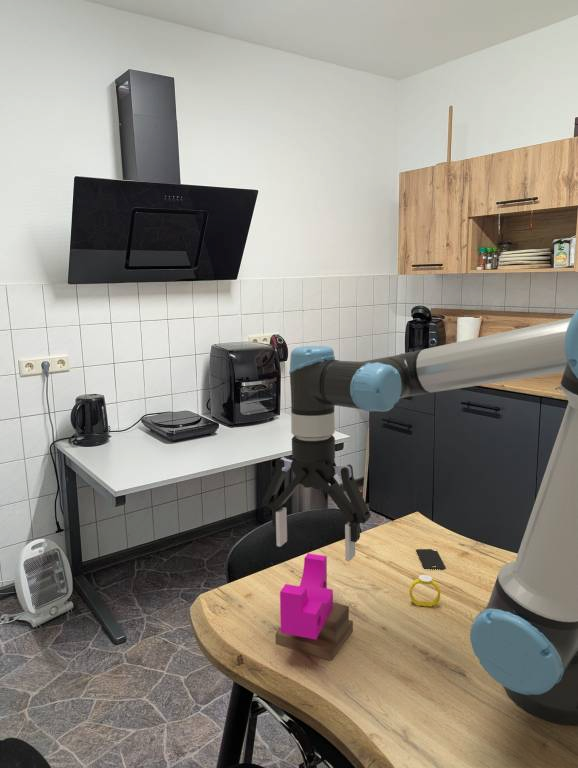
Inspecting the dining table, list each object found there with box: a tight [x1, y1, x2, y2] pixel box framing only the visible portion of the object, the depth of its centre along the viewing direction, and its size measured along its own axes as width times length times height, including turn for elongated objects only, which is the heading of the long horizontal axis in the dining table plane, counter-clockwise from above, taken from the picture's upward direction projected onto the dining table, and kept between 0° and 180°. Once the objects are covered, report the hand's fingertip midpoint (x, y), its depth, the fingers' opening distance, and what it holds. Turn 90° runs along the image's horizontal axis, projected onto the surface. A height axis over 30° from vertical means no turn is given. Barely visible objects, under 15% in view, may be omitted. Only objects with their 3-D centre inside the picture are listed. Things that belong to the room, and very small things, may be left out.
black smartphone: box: [415, 548, 447, 571], centre depth 138 cm, size 5×1×10 cm
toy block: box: [279, 552, 334, 640], centre depth 104 cm, size 15×6×8 cm, turn 160°
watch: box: [408, 574, 441, 608], centre depth 118 cm, size 6×3×6 cm, turn 80°
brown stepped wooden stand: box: [275, 601, 354, 661], centre depth 107 cm, size 11×10×6 cm
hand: (315, 550), depth 105 cm, fingers open, 13 cm apart
